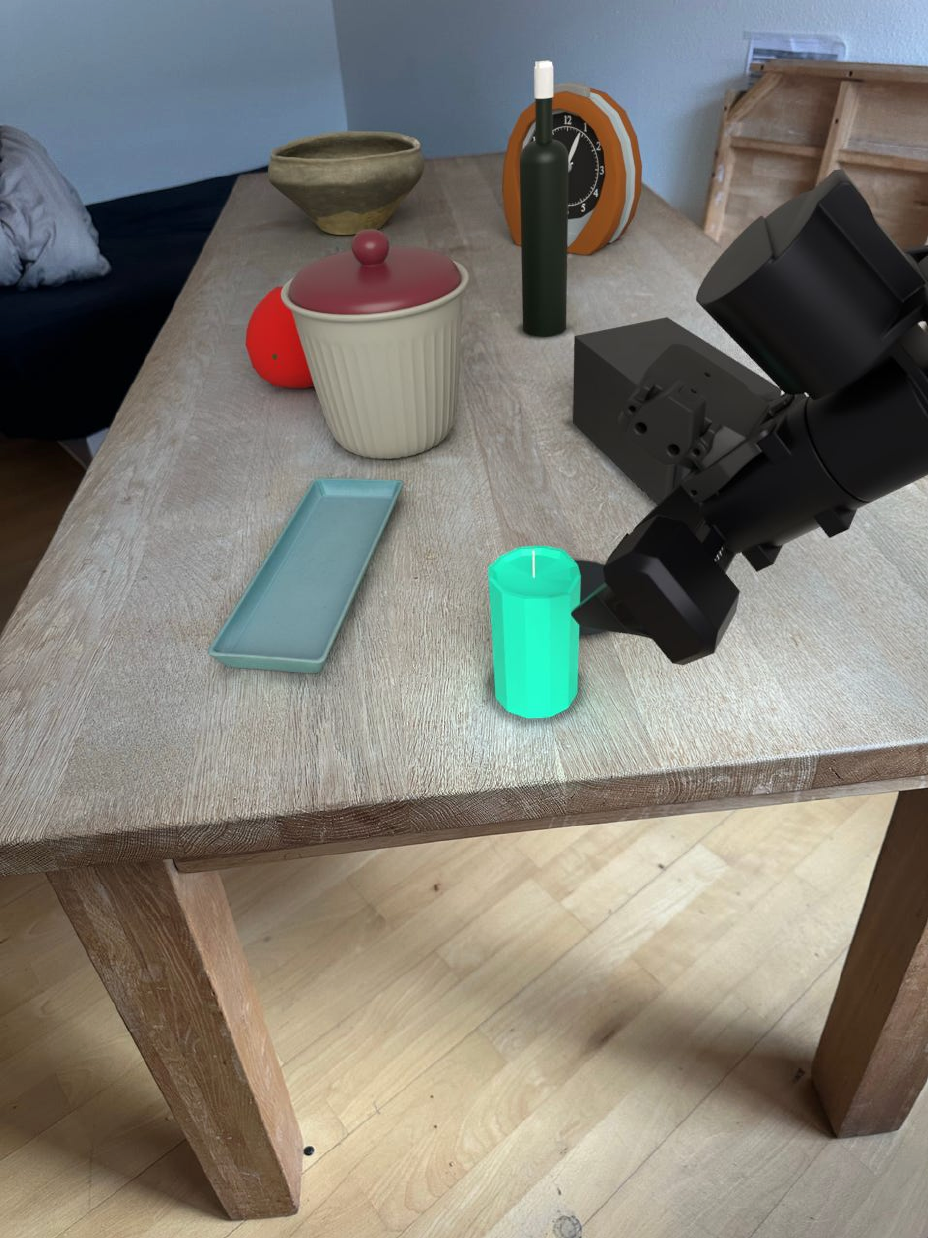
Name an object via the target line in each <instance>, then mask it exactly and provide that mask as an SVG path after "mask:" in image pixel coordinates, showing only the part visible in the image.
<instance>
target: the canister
mask: <svg viewBox="0 0 928 1238" xmlns="http://www.w3.org/2000/svg"><path fill="white" fill-rule="evenodd" d="M350 246H351V247H350V248H351V249H350V250H346V251H342V252H341V251H340V252H337V253H333V254H330V255H327V256H324V257H322V258H319V259H318V260H314V261H313V262H311V263H309V264H307V265H305V266H303V268H301V269H300V270H299V271H297V273H296V274H295V275H294V276H293V277H291V278H289V280H288V281H287V282H285V284H284V285H283V286H284V287H283V288H282V291H281V299H282V301H283V303H284V304H285V305H286V307H288V308H289V309H290V310H292V314H293V317H294V321H295V324H296V328H297V331H298V335H299V338H300V341H301V344H302V347H303V351H304V354H305V357H306V360H307V364H308V367H309V370H310V374H311V377H312V380H313V383H314V386H313V387H314V389H315V392H316V396H317V397H318V401H319V404H320V407H321V410H322V413H323V417H324V419H325V422H326V424H327V426H328V429H329V431H330V433H331V435H332V436H333V438H334V439H335V441H336V442H337V443H338V444H339V445H340V446H341V447H342V448H343V449H345V450H347V451H348V452H350V453H352V454H355V455H356V456H362V457H363V458H371V459H379V460H383V459H385V460H386V459H387V460H392V459H400V458H407V457H411V456H416V455H417V454H421V453H422V454H423V453H424V452H425V451H429V450H431V449H432V448H434V447H437V446H438V444H440V443H441V442H443V441H444V440H445V439H446V438H447V437H448V435H449V434H450V432H451V430H452V429H453V427H454V424H455V420H456V416H457V412H458V403H459V402H458V401H459V388H460V387H459V386H460V371H461V351H462V350H461V348H462V347H461V345H462V323H463V293H464V291H465V290H466V288H467V286H468V284H469V281H470V275H469V271H468V270H467V269H466V267H464V266H463V265H462V264H461V263H459V262H457V261H456V260H453V259H451V258H449V257H448V256H447V255H445V254H443V253H440V252H437V251H434V250H432V249H427V248H423V247H417V246H404V245H390V243H389V239H388V237H387V236H386V234H385V233H384V232H383V231H381V230H380V229H377V230H375V229H367V230H363V231H360V232H358V233H357V234H354V236H353V238H352V240H351V242H350Z"/></svg>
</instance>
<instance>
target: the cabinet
mask: <svg viewBox="0 0 928 1238" xmlns="http://www.w3.org/2000/svg"><path fill="white" fill-rule="evenodd" d="M573 342H574V343H573V383H572V384H573V387H572V391H573V392H572V424H574V426H576V428H578V430H580V431H581V433H583V434H584V435H585V436H586V437H587V438H588V439H589V440H590V441H591V442H592V443H593V444H594V445H595V446H596V447H597V448H598V449H599V450H600V451H601V452H602V453H603V454H604V455H605V456H606V457H607V458H608V459H610V460H611V461H612V463H614V464H615V465H616V466H617V468H619V469H620V470H621V471H622V472H623V473H624V474H625V475H626V476H627V477H628V478H629V479H630V480H631V481H632V482H633V483H634V484H635V485H636V486H637V487H638V488H639V489H641V491H642V492H644V494H645V495H646V496H648V498H649V499H651V500H652V501H653V503H655V504H656V506H657V505H658V504H659V503H660V502H661V501H662V500H663V499H664V498H665V497H666V496H667V495H668V494H669V493H670V492H671V491H672V490H673V489H674V479H675V470H676V465H670V466H666V465H664V464H662V463H660V462H659V461H658V460H656V459H655V458H653V457H652V456H650V455H649V454H647V453H646V452H644V451H643V450H641V449H640V448H638V447H637V446H635V445H634V444H632V443H631V442H630V440H629V437H628V434H626V433H625V432H624V431H623V430H622V428H621V427H620V425H619V422H618V418H619V416H620V414H621V413H622V411H623V405H624V403H625V402H626V401H627V400H628V399H629V398H630V397H631V396H632V394H633V392H634V391H635V389H636V387H637V385H638V384H639V382H640V380H641V379H642V377H643V375H644V374H645V372H646V370H647V369H648V367H649V366H650V365H651V364H652V363H653V362H654V361H655V360H656V359H657V358H658V357H659V356H660V355H661V354H662V353H663V352H664V351H665V349H666V348H667V347H668V346H670V345H671V344H674V343H678V344H683V345H686V346H688V347H690V348H692V349H693V350H695V351H697V352H698V353H700V354H701V355H703V356H704V357H706V358H707V359H709V360H710V361H712V362H713V363H715V364H716V365H718V366H720V367H721V368H723V369H724V370H726V371H727V372H729V373H730V374H732V375H733V376H735V377H736V378H738V379H739V380H741V381H742V382H743V383H745V384H746V386H747V387H748V388H749V389H750V390H751V391H752V392H753V393H755V394H756V395H757V396H762V397H768V398H769V399H770V401H773V400H775V399H776V398H778V397H779V396H781V395H782V392H783V391H782V390H781V389H780V388H779V387H778V386H777V385H776V384H775V383H773V382H771V381H769V380H768V379H766V378H765V377H763V376H762V375H760V374H758V373H756V372H755V371H754V370H752V369H750V368H749V367H747V366H745V365H744V364H742V363H741V362H739V361H737V360H736V359H735V358H733V357H732V356H730V355H728V354H727V353H725V352H724V351H721V350H720V349H719V348H717V347H716V346H714V345H712V344H711V343H709V342H708V341H706V340H705V339H702V338H701V337H699V336H698V335H696V334H695V333H693V332H691V330H688V329H687V328H685V327H683V326H682V325H680V324H679V323H677V322H675V321H674V320H672V319H671V318H669V317H668V316H666V317H661V318H655V319H652V320H647V321H641V322H636V323H631V324H627V325H626V324H625V325H621V326H617V327H612V328H606V329H602V330H596V331H592V332H587V333H581V334H577V335H574V339H573Z"/></svg>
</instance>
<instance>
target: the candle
mask: <svg viewBox="0 0 928 1238" xmlns="http://www.w3.org/2000/svg"><path fill="white" fill-rule="evenodd" d="M487 574H488V592H489V594H488V595H489V608H490V609H489V611H490V624H491V625H490V627H491V642H492V644H491V645H492V661H493V664H492V665H493V678H494V695H495V697H494V698H495V699H496V701H497V702H498V703H499V704H500V705H501V706H502V707H503V708H504V710H505V711H506V712H509V713H511V714H514V715H516V716H519V717H521V718H525V719H543V718H552V717H553V716H555V715H558V714H559V713H561V712H564V711H566V710H568V709H569V708H570V706H571V705H572V703H573V702H574V700H575V698H576V697H577V696H578V684H579V682H578V681H579V653H580V652H579V651H580V647H579V646H580V635H579V624H578V623H577V622H576V621H575V620H574V618H573V617H572V616H571V612H572V611H573V610H574V608H576V607H577V606H578V605H579V604H580V585H581V575H580V571H579V567H578V564H577V563H576V562H575V561H574V559H573V558H572V556H570V554H569V553H568V552H567V551H566V550H565V549H564V548H560V547H559V548H558V547H554V546H553V547H552V546H548V545H541V544H540V545H529V546H518V547H516V548H514V549H512V550H510V551H508V552H506V553H504V554H502V555H499V556H498V557H497V558H496V559H495V560H494V561H493V562H492V563H491V564H490V565H489V566H488V567H487Z"/></svg>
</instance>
